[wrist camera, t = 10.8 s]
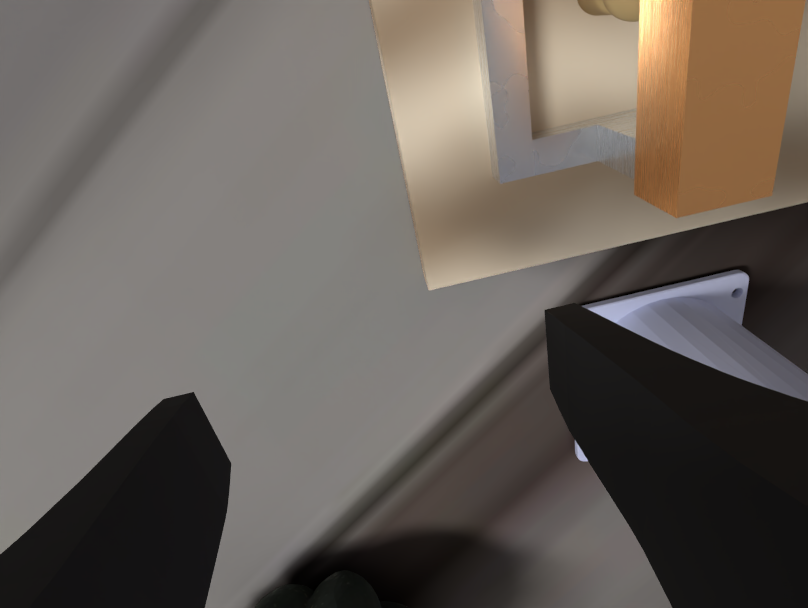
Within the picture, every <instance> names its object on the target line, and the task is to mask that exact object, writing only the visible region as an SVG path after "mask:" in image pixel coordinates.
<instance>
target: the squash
mask: <svg viewBox="0 0 808 608" xmlns="http://www.w3.org/2000/svg"><path fill="white" fill-rule="evenodd" d="M255 608H408V607H406V606H404V605H403V604H399V603H396V602H390V601H381V602H380V601H379V599H378V597H377V594H376V593H375V591H374V590H373V588H372V586H371V585H370V584H369V583H368V582H367V581H366V580H365V579H364V578H363V577H362V576H360V575H358V574H356V573H353V572H351V571H338V572H335V573H334V574H332V575H330V576H329V577H327V578H326V579H325V580H324V581H323V582H321V583H320V585H319V586H318V587H317V588H316V589H315V591H314V590H312V589H310V588H308V587H307V586H304V585H296V584H288V585H284V586H281V587H278V588H277V589H275V590H274V591H272V592H271V593H269V594H268V595H266V596H265V597H264V598H262V599H261V600H260V602H259V603H258V604H257V605H256V606H255Z"/></svg>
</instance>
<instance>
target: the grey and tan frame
mask: <svg viewBox="0 0 808 608" xmlns="http://www.w3.org/2000/svg"><path fill="white" fill-rule="evenodd" d="M805 1H806V0H640V13H639V46H638V79H637V108H634V109H630V110H626V111H621V112H617V113H613V114H608V115H604V116H600V117H595V118H591V119H587V120H583V121H578V122H574V123H570V124H565V125H561V126H557V127H552V128H548V129H544V130H540V131H535V132H532V129H531V115H530V101H529V86H528V72H527V58H526V43H525V29H524V14H523V0H473V9H474V18H475V27H476V36H477V44H478V53H479V62H480V71H481V80H482V89H483V98H484V107H485V116H486V125H487V134H488V142H489V151H490V160H491V169H492V176H493V177H494V178H495V179H496V180H497V181H498V182H499V183H500V184H502V183H506V182H510V181H515V180H519V179H523V178H527V177H532V176H536V175H540V174H545V173H549V172H553V171H558V170H562V169H566V168H570V167H575V166H579V165H583V164H588V163H592V162H596V161H599V162H601V163H603V164H605V165H607V166H609V167H611V168H613V169H615V170H617V171H619V172H621V173H622V174H624V175H626V176H628V177H630V178H632V179H634V195H635V196H637V197H639V198H641V199H643V200H644V201H646V202H648V203H650V204H652V205H653V206H655V207H657V208H659V209H661V210H663V211H664V212H666V213H668V214H670V215H672V216H673V217H675V218H679V217H684V216H688V215H692V214H697V213H701V212H705V211H709V210H714V209H718V208H722V207H727V206H731V205H735V204H739V203H744V202H748V201H752V200H757V199H761V198H765V197H769V196H772V193H773V188H774V182H775V176H776V170H777V164H778V158H779V153H780V147H781V141H782V135H783V129H784V124H785V118H786V112H787V106H788V100H789V94H790V89H791V83H792V77H793V71H794V65H795V60H796V54H797V48H798V42H799V36H800V30H801V25H802V19H803V13H804V7H805Z"/></svg>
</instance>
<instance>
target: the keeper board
mask: <svg viewBox="0 0 808 608" xmlns="http://www.w3.org/2000/svg"><path fill="white" fill-rule="evenodd" d="M369 4H370V9H371V14H372V19H373V24H374V29H375V34H376V39H377V44H378V49H379V54H380V59H381V64H382V69H383V74H384V79H385V84H386V89H387V94H388V98H389V103H390V108H391V113H392V118H393V123H394V128H395V133H396V138H397V143H398V148H399V153H400V158H401V163H402V168H403V173H404V178H405V183H406V188H407V193H408V198H409V203H410V208H411V213H412V218H413V223H414V228H415V233H416V238H417V243H418V248H419V253H420V258H421V263H422V268H423V273H424V278H425V281H426V284H427V286H428V289H429V290H433V289H438V288H442V287H446V286H450V285H455V284H459V283H463V282H468V281H472V280H476V279H480V278H485V277H489V276H493V275H498V274H502V273H506V272H510V271H515V270H519V269H523V268H528V267H532V266H536V265H540V264H545V263H549V262H553V261H558V260H562V259H566V258H570V257H575V256H579V255H583V254H588V253H592V252H596V251H600V250H605V249H609V248H613V247H618V246H622V245H626V244H630V243H635V242H639V241H643V240H648V239H652V238H656V237H660V236H665V235H669V234H673V233H678V232H682V231H686V230H690V229H695V228H699V227H703V226H708V225H712V224H716V223H720V222H725V221H729V220H733V219H738V218H742V217H746V216H750V215H755V214H759V213H763V212H768V211H772V210H776V209H781V208H785V207H789V206H793V205H798V204H802V203H806V202H808V0H806V1H805V7H804V13H803V19H802V25H801V30H800V36H799V42H798V48H797V54H796V60H795V65H794V71H793V77H792V83H791V89H790V94H789V100H788V106H787V112H786V118H785V124H784V129H783V135H782V141H781V147H780V153H779V158H778V164H777V170H776V176H775V182H774V188H773V193H772V196H769V197H765V198H761V199H757V200H752V201H748V202H744V203H739V204H735V205H731V206H727V207H722V208H718V209H714V210H709V211H705V212H701V213H697V214H692V215H688V216H684V217H679V218H675V217H673V216H672V215H670V214H668V213H666V212H664V211H663V210H661V209H659V208H657V207H655V206H653V205H652V204H650V203H648V202H646V201H644V200H643V199H641V198H639V197H637V196H635V195H634V179H632V178H630V177H628V176H626V175H624V174H622V173H621V172H619V171H617V170H615V169H613V168H611V167H609V166H607V165H605V164H603V163H601V162H599V161H596V162H592V163H588V164H583V165H579V166H575V167H570V168H566V169H562V170H558V171H553V172H549V173H545V174H540V175H536V176H532V177H527V178H523V179H519V180H515V181H510V182H506V183H502V184H500V183H499V182H498V181H497V180H496V179H495V178H494V177H493V176H492V169H491V160H490V151H489V142H488V134H487V125H486V116H485V107H484V98H483V89H482V80H481V71H480V62H479V53H478V44H477V36H476V27H475V18H474V9H473V0H369ZM639 13H640V0H523V14H524V29H525V43H526V58H527V72H528V86H529V101H530V115H531V129H532V132H535V131H540V130H544V129H548V128H552V127H557V126H561V125H565V124H570V123H574V122H578V121H583V120H587V119H591V118H595V117H600V116H604V115H608V114H613V113H617V112H621V111H626V110H630V109H634V108H637V79H638V46H639Z"/></svg>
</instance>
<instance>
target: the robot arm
mask: <svg viewBox="0 0 808 608" xmlns="http://www.w3.org/2000/svg"><path fill="white" fill-rule="evenodd" d="M748 284H749V276H748V275H747V274H746V273H745V272H743V271H741V270H732V271H728V272H724V273H720V274H715V275H711V276H707V277H702V278H698V279H694V280H690V281H685V282H681V283H677V284H673V285H668V286H664V287H660V288H655V289H651V290H647V291H643V292H638V293H634V294H630V295H626V296H621V297H617V298H613V299H608V300H604V301H600V302H596V303H591V304H587V305H583V306H580V305H578V304H575V303H573V304H568V305H564V306H560V307H556V308H551V309H547V310H545V322H546V337H547V351H548V366H549V381H550V390H551V392H552V394H553V396H554V399H555V401H556V403H557V405H558V408H559V410H560V412H561V414H562V416H563V418H564V420H565V422H566V425H567V427H568V429H569V431H570V432H571V434H572V436H573V437H574V439H575V453H576V455H577V457H578V459H579V460H580V461H589V463H590V465H591V466H592V468H593V469H594V471H595V472H596V474H597V476H598V477H599V479H600V480H601V482H602V483H603V485H604V487H605V488H606V490H607V491H608V493H609V494H610V496H611V498H612V499H613V501H614V502H615V504H616V506H617V507H618V509H619V510H620V512H621V513H622V515H623V517H624V518H625V520H626V521H627V523H628V524H629V526H630V528H631V529H632V531H633V533H634V535H635V536H636V538H637V540H638V542H639V543H640V545H641V547H642V548H643V550H644V552H645V554H646V556H647V558H648V560H649V562H650V564H651V566H652V568H653V570H654V572H655V574H656V576H657V578H658V580H659V582H660V584H661V586H662V588H663V590H664V592H665V594H666V596H667V598H668V599H669V601H670V603H671V606H672V608H808V374H807V373H806V372H804V371H803V370H802V369H800V368H799V367H797V366H796V365H795V364H793V363H792V362H791V361H789V360H788V359H787V358H785V357H784V356H782V355H781V354H780V353H778V352H777V351H776V350H774V349H773V348H771V347H770V346H769V345H767V344H766V343H765V342H763V341H762V340H761V339H759V338H758V337H756V336H755V335H754V334H752V333H751V332H750V331H748V330H747V329H745V328H744V327H743V326H742V320H743V314H744V308H745V302H746V296H747V290H748ZM735 289H736V291H735V292H734V293H732V292H733V291H734V290H735ZM230 473H231V462H230V460H229V459H228V457H227V455H226V453H225V451H224V449H223V447H222V445H221V443H220V441H219V440H218V438H217V436H216V434H215V432H214V430H213V428H212V426H211V424H210V422H209V420H208V419H207V417H206V415H205V413H204V411H203V409H202V407H201V405H200V403H199V401H198V400H197V398H196V396H195V394H194V392H192V393H188V394H184V395H179V396H175V397H171V398H166V399H163V400H162V401H161V402H160V403H159V404H158V405H156V406H155V407H154V408H153V409H152V410H151V411H150V412H149V413H148V414H147V415H146V416H145V417H144V418H143V419H142V420H140V421H139V422H138V423H137V424H136V425H135V426H134V427H133V428H132V429H131V430H130V431H129V432H128V433H127V434H126V435H125V436H124V437H123V438H122V440H121V441H120V442H119V443H118V444H117V445H116V446H115V447H114V448H113V449H112V450H111V451H110V452H109V453H108V454H107V455H106V456H105V457H104V458H103V459H102V460H101V461H100V462H99V463H98V464H97V465H96V466H95V467H94V468H93V469H92V470H91V471H90V472H89V473H88V474H87V475H86V476H85V477H84V478H83V479H82V480H81V481H80V482H79V483H78V484H77V485H75V486H74V487H73V488H72V489H71V490H70V491H69V492H68V493H67V494H66V495H65V496H64V497H63V498H62V499H61V500H60V501H59V502H57V503H56V504H55V505H54V506H53V507H52V508H51V509H50V510H49V511H48V512H47V513H46V514H45V515H44V516H43V517H42V518H41V519H39V520H38V521H37V522H36V523H35V524H34V525H33V526H32V527H31V528H30V529H29V530H28V531H27V532H26V533H24V534H23V535H22V536H21V537H20V538H19V539H18V540H17V541H15V542H14V543H13V544H12V545H11V546H10V547H9V548H7V549H6V550H5V551H4V552H3V553H2V554H0V608H205V604H206V600H207V596H208V591H209V587H210V583H211V579H212V574H213V570H214V566H215V562H216V558H217V553H218V549H219V545H220V540H221V536H222V531H223V527H224V522H225V518H226V513H227V506H228V497H229V486H230Z"/></svg>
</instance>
